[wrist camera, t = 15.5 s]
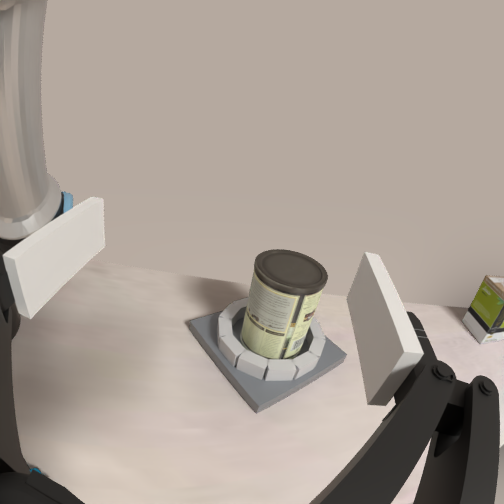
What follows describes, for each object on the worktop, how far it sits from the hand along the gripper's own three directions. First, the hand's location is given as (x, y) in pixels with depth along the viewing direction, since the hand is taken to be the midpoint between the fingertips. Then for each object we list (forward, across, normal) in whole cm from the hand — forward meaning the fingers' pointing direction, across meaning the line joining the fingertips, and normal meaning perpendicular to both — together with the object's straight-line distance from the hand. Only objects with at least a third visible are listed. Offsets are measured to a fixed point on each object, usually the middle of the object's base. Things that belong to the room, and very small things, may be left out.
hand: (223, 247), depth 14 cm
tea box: (+40, +66, -30) cm, 83 cm away
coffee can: (+24, +6, -28) cm, 38 cm away
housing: (+24, +6, -30) cm, 39 cm away
